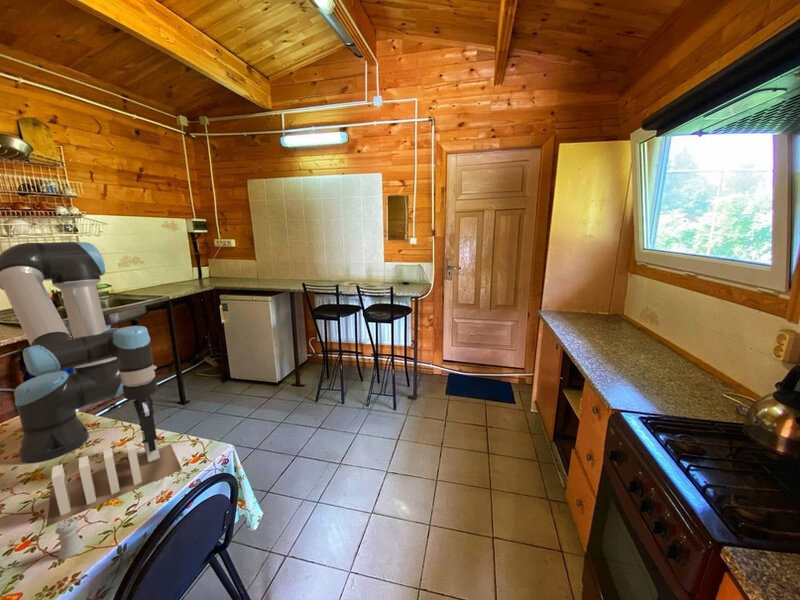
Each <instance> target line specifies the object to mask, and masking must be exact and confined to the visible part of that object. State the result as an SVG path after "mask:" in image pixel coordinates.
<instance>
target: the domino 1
mask: <svg viewBox="0 0 800 600" xmlns="http://www.w3.org/2000/svg"><path fill="white" fill-rule="evenodd" d="M51 481H52V482H51V483H52V485H53V488H54V490H55V494H56V498H57V502H58V506H59V510H60V515H64V514H66V513H69V512H70V509H71V499H70V495H69V490H68V486H67V482H68V481H67V479H66V474H65V470H64V465H63V464H62V463H61V464H58V465H55V466H53V467H52V471H51Z"/></svg>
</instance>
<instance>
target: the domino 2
mask: <svg viewBox="0 0 800 600" xmlns="http://www.w3.org/2000/svg"><path fill="white" fill-rule="evenodd" d="M78 470H79V474H80V478H81V480H82V484H83V489H84V493H85V497H86V502H87V505H88V504H90V503H93V502H95V501H96V493H95V486H94V482H93V477H92V473H93V472H92V469H91V465H90V461H89V456H88V455H85V456H82V457H79V458H78Z"/></svg>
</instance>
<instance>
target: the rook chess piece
mask: <svg viewBox="0 0 800 600" xmlns="http://www.w3.org/2000/svg"><path fill="white" fill-rule="evenodd" d="M77 525H78V520H77V519H75V518H74V517H69V518H67V519H64V520H63V522H62V521H60V522H58V525H56V529H55V530H54V531H55V532H54V533H55V534H57V535H58V539H59V540H60V548H59V551H58V553H57V558H58V559H59V560H66V559H69V558H72V557H74V556H76V555H77V554H78V553H80V552H81V551H82V550H83V549H84V548H85V546H86V545H87V541H86V540H85V539H83V538H82V537H80V535H79V533H78V527H77Z"/></svg>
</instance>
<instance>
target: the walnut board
mask: <svg viewBox="0 0 800 600" xmlns="http://www.w3.org/2000/svg"><path fill="white" fill-rule="evenodd" d="M158 450H159V455H160V458H158V460H155V461H153V462H148V458H147V453H144V454H140V455H137V458H138V464H139V469H140V474H141V480H142V482H141V483H138V484H136V485H134V482H133V478H132V473H131V468H130V462H129V459H126V460H125V461H121V462H120V463H119V462H118V463H115V468H116V473H117V478H118V483H119V489H120V491H119V492H117V493H114V494H111V489H110V485H109V480H108V475H107V470H106V467H105V468H104V469H100V470H98V471H94V472H91V473H92V477H93V482H94V486H95V493H96V501H95V502H93V503H90V504H88V505H87V502H86V497H85V493H84V489H83V484H82V480H81V477H78V478H75V479H73V480H71V481H66V482H67V486H68V490H69V495H70V499H71V509H70V512H69V513H66V514H64V515H60V510H59V506H58V502H57V498H56V494H55V490H54V487H52V488H50V492H49V500H48V501H49V502H48V508H47V520H46V528H47V527H50V526H53V525H54V524H57V523H60V522H62V521H64V520H65V519H70V518H72V517H73V516H76V515H78V514H81V513H83V512H85V511H88V510H89V509H92V508H95V507H97V506H99V505H102V504H104V503H107V502H109V501H112V500H114V499H116V498H119V497H120V496H121V497H122V496H123V495H125V494H128V493H130V492H133V491H135V490H137V489H140V488H142V487H145V486H147V485H149V484H151V483H154V482H156V481H159V480H160V479H163V478H166V477H168V476H170V475H172V474H175V473H177V472H180V471H182V470H183V467H181V464H180V461H179V460H178V457H177V455H176V453H175V451H174V449H173V446H172V445H171V443H170V444H168V445H165V446H162V447H158Z"/></svg>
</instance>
